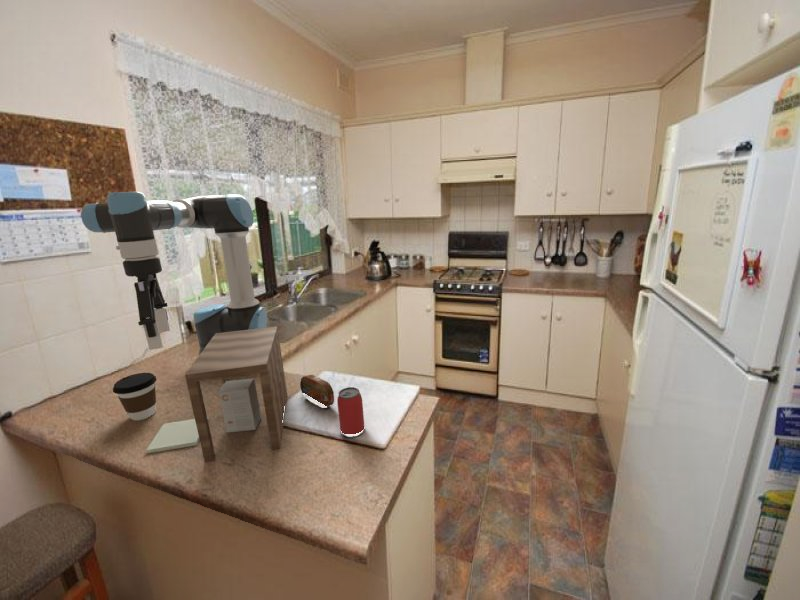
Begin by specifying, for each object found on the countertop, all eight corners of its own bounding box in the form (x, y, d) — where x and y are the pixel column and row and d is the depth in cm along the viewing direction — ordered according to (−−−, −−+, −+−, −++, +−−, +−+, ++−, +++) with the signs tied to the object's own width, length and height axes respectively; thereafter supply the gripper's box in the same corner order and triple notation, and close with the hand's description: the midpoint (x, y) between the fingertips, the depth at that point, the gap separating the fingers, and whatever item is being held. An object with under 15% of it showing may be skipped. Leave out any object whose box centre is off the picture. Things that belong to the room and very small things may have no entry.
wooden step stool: (229, 403, 118) (215, 333, 111) (287, 394, 121) (277, 326, 115) (204, 462, 91) (184, 374, 85) (279, 448, 95) (266, 363, 88)
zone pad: (164, 426, 107) (163, 423, 107) (208, 419, 109) (208, 416, 109) (146, 453, 96) (146, 450, 95) (196, 445, 98) (196, 441, 98)
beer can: (337, 428, 102) (333, 389, 99) (360, 421, 105) (357, 383, 102) (344, 441, 97) (339, 401, 93) (367, 434, 99) (364, 394, 96)
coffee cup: (113, 422, 111) (102, 386, 107) (148, 403, 121) (139, 369, 117) (138, 428, 107) (128, 391, 104) (172, 408, 117) (163, 373, 114)
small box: (261, 417, 109) (254, 377, 106) (255, 430, 103) (248, 388, 100) (233, 420, 109) (225, 380, 105) (226, 433, 103) (217, 391, 99)
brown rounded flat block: (300, 397, 120) (297, 373, 117) (309, 393, 122) (306, 370, 120) (328, 413, 110) (326, 388, 108) (337, 408, 112) (334, 384, 110)
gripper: (133, 253, 99) (151, 327, 105) (108, 267, 77) (132, 360, 83) (165, 250, 102) (181, 323, 108) (150, 263, 80) (171, 353, 86)
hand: (160, 339), depth 95 cm, fingers open, 13 cm apart
